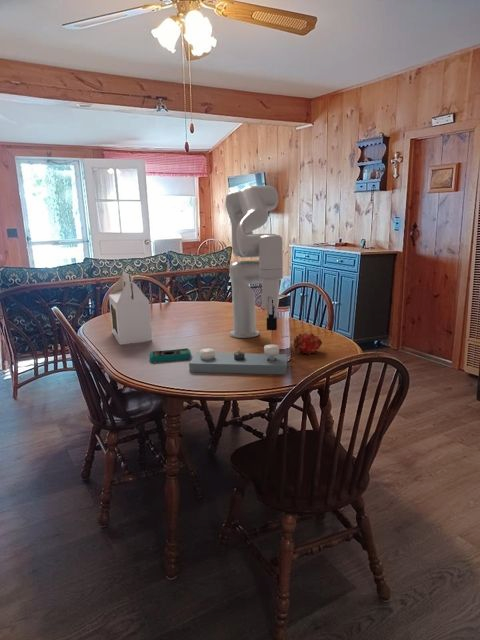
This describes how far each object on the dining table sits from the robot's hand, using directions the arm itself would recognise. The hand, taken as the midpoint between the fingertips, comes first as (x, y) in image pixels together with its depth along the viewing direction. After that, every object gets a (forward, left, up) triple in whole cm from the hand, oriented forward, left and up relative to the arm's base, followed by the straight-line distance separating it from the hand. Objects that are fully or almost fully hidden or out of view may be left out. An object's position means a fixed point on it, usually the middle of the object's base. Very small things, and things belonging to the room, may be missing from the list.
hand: (271, 329), depth 149 cm
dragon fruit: (-19, +12, -14) cm, 26 cm away
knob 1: (-1, -22, -13) cm, 26 cm away
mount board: (-1, -11, -14) cm, 18 cm away
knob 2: (-1, 0, -12) cm, 12 cm away
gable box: (-37, -64, -14) cm, 75 cm away
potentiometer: (-1, -11, -11) cm, 15 cm away
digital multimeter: (-9, -38, -14) cm, 41 cm away
